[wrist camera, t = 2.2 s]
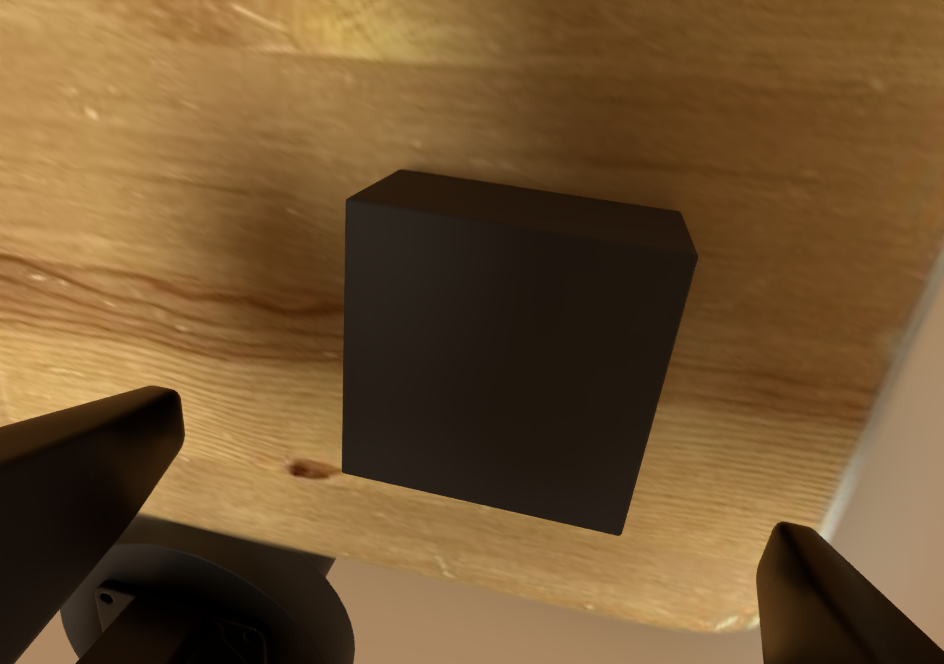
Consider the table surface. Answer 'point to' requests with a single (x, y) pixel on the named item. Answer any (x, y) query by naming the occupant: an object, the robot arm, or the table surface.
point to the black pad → (507, 342)
